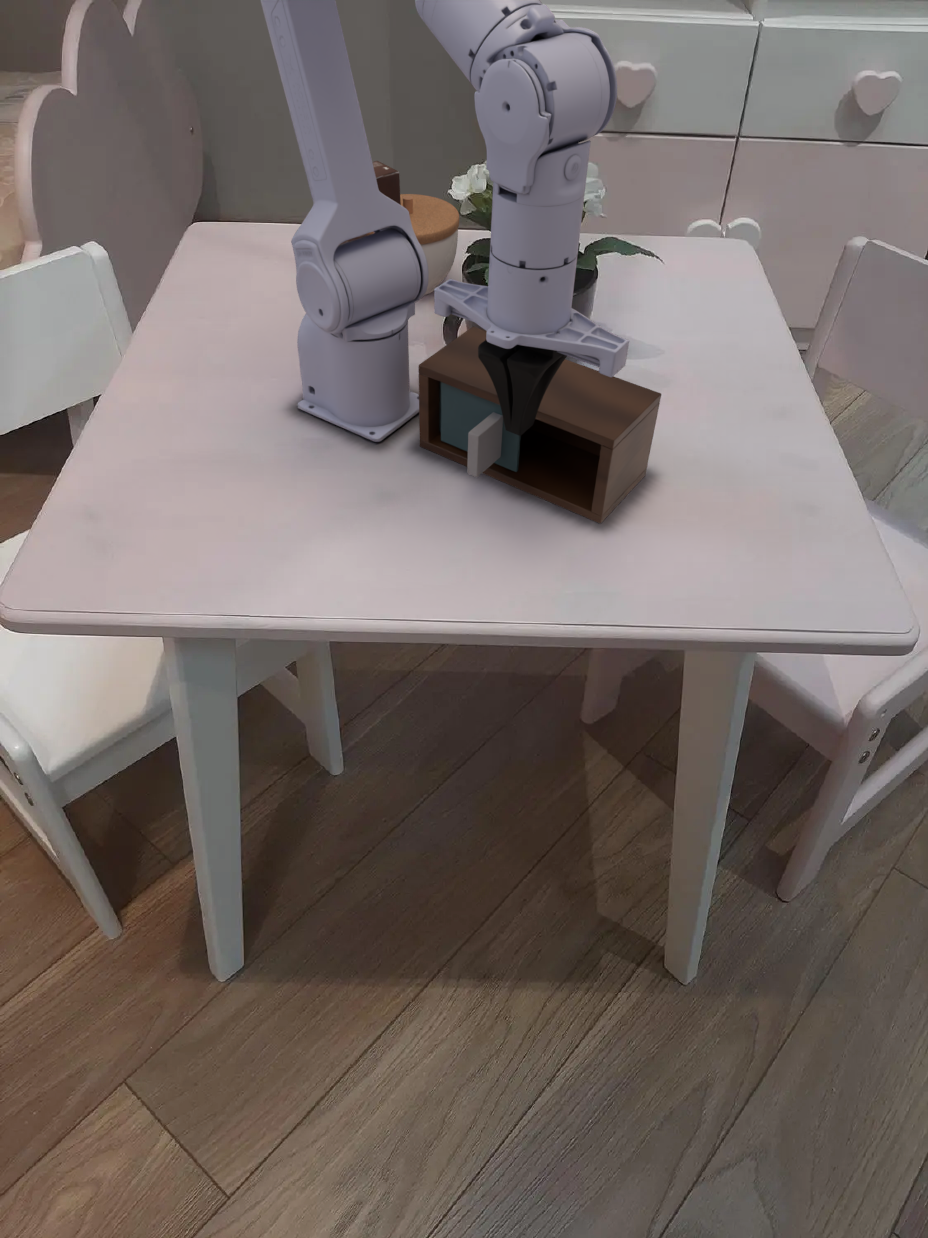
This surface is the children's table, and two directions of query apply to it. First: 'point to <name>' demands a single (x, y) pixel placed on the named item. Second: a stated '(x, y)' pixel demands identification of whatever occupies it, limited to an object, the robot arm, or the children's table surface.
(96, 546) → the children's table surface
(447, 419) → the glass door
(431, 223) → the white lidded jar
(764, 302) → the children's table surface
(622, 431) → the cabinet
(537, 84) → the robot arm
